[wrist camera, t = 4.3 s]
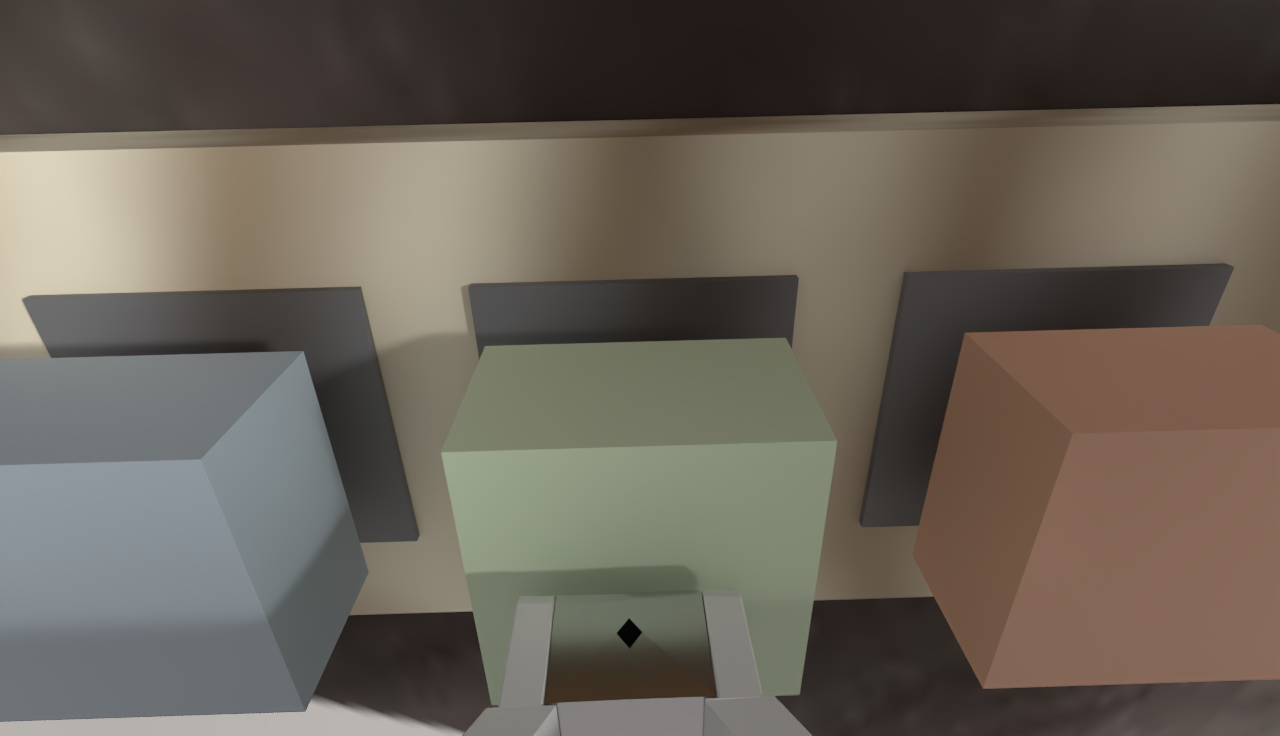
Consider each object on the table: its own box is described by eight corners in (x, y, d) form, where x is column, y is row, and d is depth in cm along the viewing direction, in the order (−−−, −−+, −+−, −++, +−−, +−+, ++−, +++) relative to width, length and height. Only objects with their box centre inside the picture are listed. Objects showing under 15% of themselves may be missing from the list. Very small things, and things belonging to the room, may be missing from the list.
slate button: (303, 351, 11) (200, 459, 8) (368, 572, 13) (305, 711, 11) (-3, 359, 11) (-204, 470, 8) (118, 580, 13) (-8, 721, 11)
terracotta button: (1261, 324, 11) (1462, 422, 8) (1155, 547, 13) (1286, 679, 11) (964, 332, 11) (1073, 433, 8) (912, 555, 13) (982, 688, 11)
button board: (1296, 103, 13) (1416, 120, 11) (1114, 532, 18) (1173, 595, 16) (-53, 136, 13) (-177, 158, 11) (159, 562, 18) (102, 629, 16)
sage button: (785, 337, 11) (836, 440, 8) (764, 559, 13) (799, 694, 11) (484, 346, 11) (441, 452, 8) (517, 567, 13) (491, 704, 11)
